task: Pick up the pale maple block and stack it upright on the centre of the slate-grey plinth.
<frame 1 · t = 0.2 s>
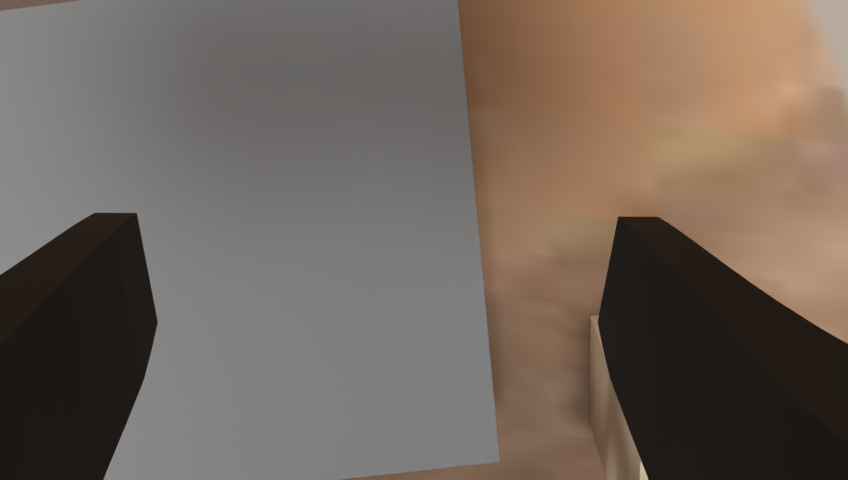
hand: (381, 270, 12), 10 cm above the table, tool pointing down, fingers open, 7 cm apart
slate plinth: (205, 244, 23), on the table
maple block: (662, 363, 27), on the table
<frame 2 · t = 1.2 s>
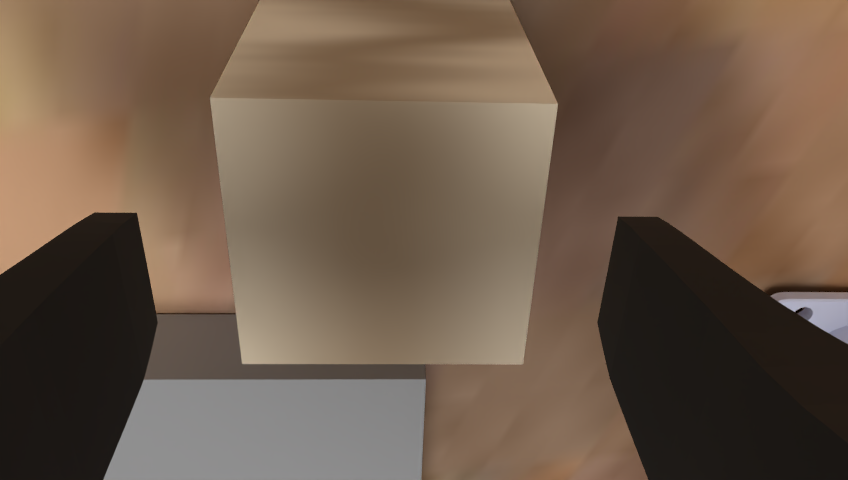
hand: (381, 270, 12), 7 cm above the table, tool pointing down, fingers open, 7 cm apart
maple block: (386, 102, 18), on the table
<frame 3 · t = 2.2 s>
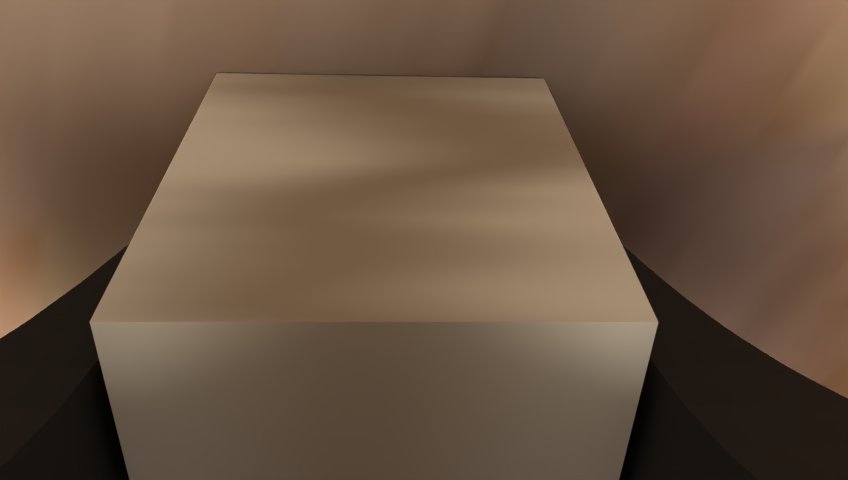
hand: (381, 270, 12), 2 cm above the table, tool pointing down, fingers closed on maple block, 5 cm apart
maple block: (381, 216, 13), on the table, touching gripper
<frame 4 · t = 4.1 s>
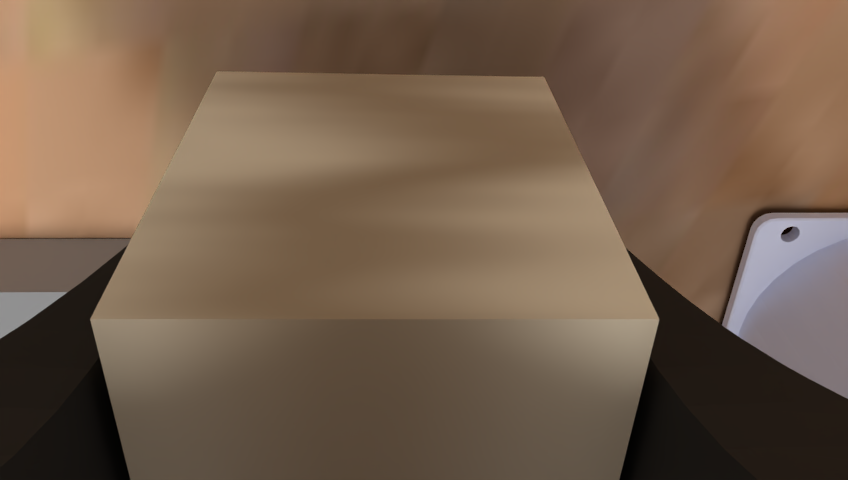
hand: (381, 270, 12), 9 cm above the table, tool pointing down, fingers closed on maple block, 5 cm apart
slate plinth: (188, 439, 26), on the table
maple block: (381, 214, 13), point 7 cm above the table, touching gripper
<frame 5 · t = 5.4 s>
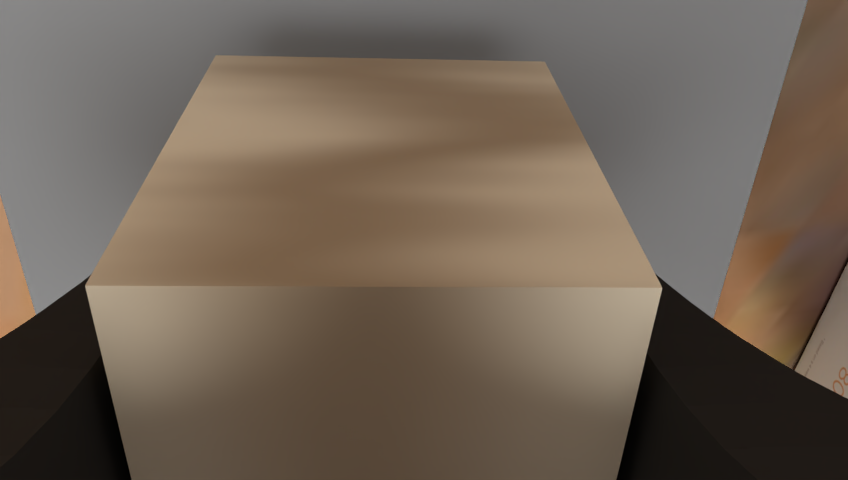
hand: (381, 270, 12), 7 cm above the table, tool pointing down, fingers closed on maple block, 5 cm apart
slate plinth: (384, 90, 18), on the table
maple block: (381, 202, 13), point 6 cm above the table, touching gripper
when the fingers open (5 cm above the table, at t = 6.3 s): maple block stays where it is, resting on slate plinth.
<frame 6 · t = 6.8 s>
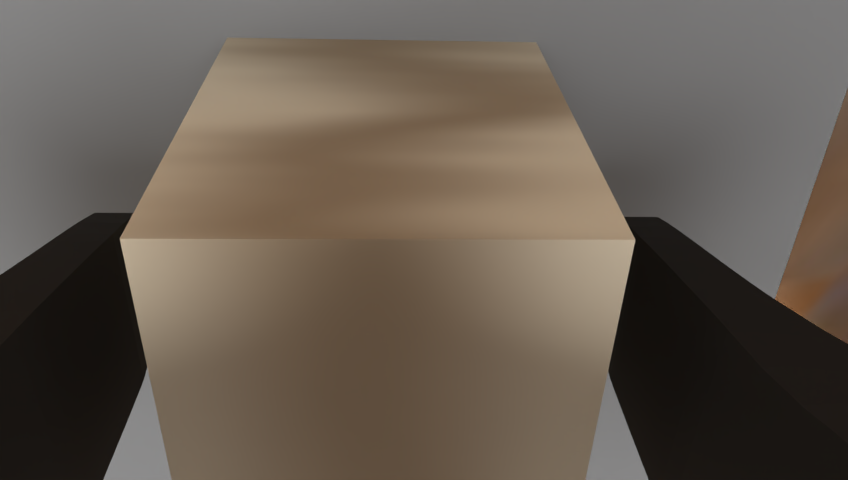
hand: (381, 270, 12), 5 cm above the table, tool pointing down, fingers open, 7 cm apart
slate plinth: (382, 130, 16), on the table
maple block: (383, 176, 14), point 2 cm above the table, touching slate plinth
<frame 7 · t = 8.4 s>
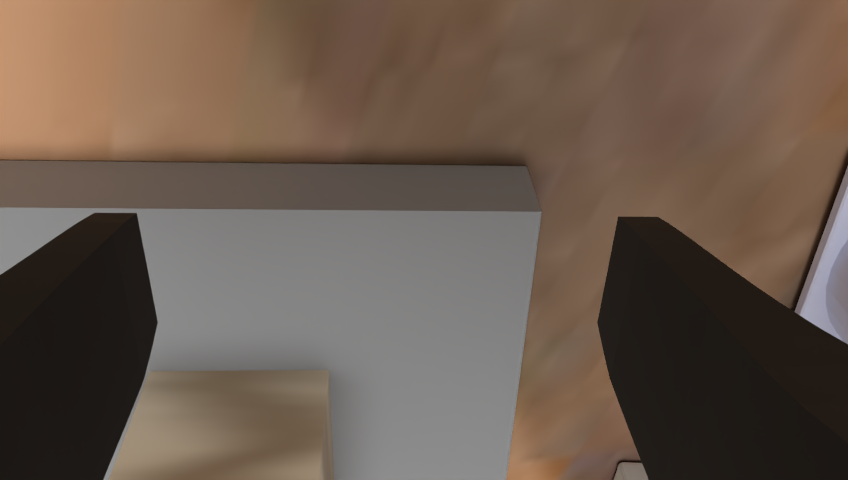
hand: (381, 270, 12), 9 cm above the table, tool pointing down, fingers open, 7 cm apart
slate plinth: (259, 381, 25), on the table
maple block: (247, 433, 23), point 2 cm above the table, touching slate plinth
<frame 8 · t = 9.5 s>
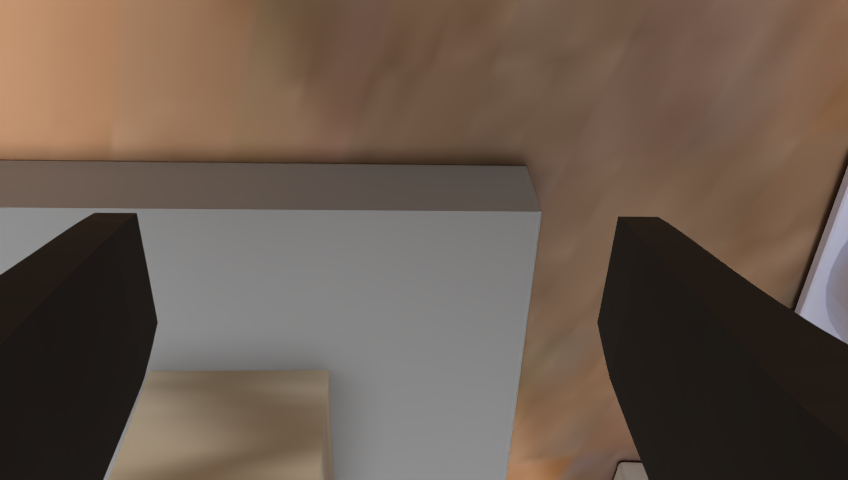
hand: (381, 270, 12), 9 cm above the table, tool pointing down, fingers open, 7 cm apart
slate plinth: (259, 381, 25), on the table
maple block: (247, 433, 23), point 2 cm above the table, touching slate plinth
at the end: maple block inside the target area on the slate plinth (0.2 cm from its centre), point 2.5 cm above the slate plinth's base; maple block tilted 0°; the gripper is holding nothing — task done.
